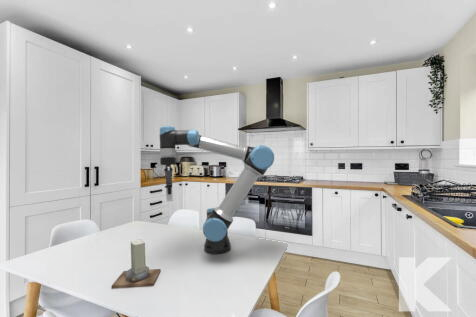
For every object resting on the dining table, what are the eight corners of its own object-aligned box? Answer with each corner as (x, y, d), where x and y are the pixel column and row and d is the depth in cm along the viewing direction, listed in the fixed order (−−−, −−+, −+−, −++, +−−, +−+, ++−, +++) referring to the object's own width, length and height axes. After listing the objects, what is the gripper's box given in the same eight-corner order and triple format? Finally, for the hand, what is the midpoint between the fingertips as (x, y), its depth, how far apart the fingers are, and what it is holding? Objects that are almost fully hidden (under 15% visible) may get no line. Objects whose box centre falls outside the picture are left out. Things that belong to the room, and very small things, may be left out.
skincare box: (146, 271, 95) (145, 242, 95) (134, 275, 92) (134, 245, 92) (141, 266, 100) (141, 238, 100) (130, 269, 97) (130, 241, 97)
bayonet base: (160, 271, 103) (160, 263, 103) (153, 286, 91) (153, 276, 91) (123, 273, 101) (123, 265, 101) (111, 288, 89) (111, 279, 89)
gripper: (177, 156, 104) (178, 202, 104) (174, 157, 128) (175, 195, 128) (159, 156, 102) (161, 203, 101) (160, 157, 125) (161, 196, 125)
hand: (169, 199), depth 115 cm, fingers open, 13 cm apart
